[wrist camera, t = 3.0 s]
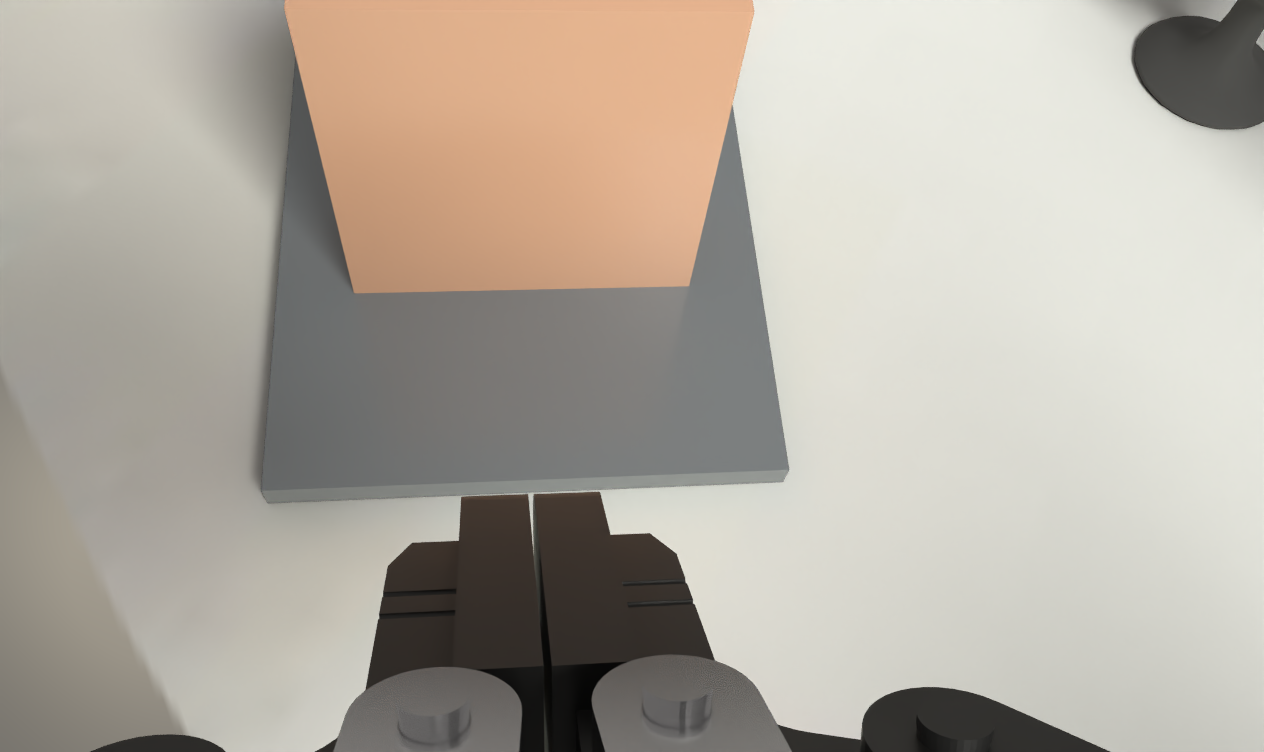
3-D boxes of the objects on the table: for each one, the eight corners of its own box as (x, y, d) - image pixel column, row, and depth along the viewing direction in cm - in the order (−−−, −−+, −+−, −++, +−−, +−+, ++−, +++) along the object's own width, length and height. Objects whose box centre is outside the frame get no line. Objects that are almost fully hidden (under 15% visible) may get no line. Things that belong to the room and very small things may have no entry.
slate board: (314, -107, 38) (310, -127, 37) (694, -100, 40) (697, -120, 39) (267, 503, 28) (260, 490, 27) (782, 481, 29) (789, 469, 29)
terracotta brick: (688, 286, 31) (754, 11, 22) (353, 293, 30) (284, 8, 21) (678, 201, 32) (737, -89, 24) (357, 206, 31) (293, -96, 23)
